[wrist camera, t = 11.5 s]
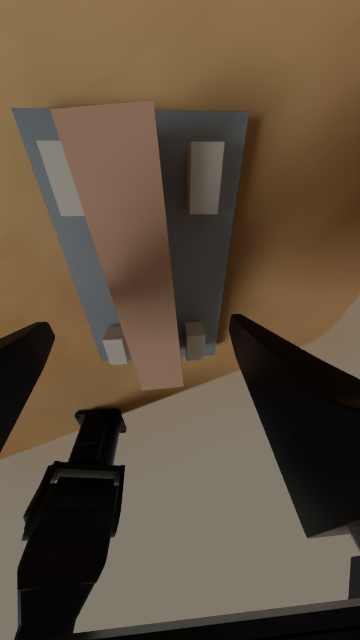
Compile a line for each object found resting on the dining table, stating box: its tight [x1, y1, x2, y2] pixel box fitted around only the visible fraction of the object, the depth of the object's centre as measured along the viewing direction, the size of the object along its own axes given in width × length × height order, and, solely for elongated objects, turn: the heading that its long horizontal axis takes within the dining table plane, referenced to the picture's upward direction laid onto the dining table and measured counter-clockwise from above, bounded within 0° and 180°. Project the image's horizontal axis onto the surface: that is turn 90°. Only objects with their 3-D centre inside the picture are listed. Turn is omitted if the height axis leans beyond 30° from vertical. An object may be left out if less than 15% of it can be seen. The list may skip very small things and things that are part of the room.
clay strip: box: [50, 100, 184, 391], centre depth 13 cm, size 16×4×4 cm, turn 4°
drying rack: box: [11, 108, 249, 365], centre depth 14 cm, size 18×12×4 cm, turn 0°
